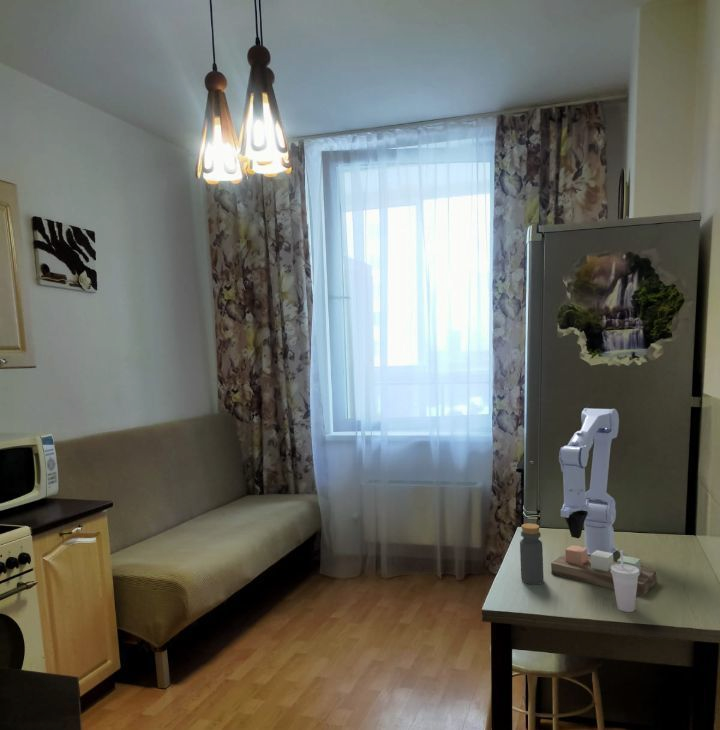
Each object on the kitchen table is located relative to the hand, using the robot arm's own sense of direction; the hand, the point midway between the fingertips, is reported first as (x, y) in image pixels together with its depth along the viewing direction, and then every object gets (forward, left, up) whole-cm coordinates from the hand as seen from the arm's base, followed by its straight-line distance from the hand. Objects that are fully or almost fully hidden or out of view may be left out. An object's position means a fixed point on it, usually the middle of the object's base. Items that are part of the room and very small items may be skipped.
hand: (576, 537), depth 160 cm
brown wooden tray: (0, +7, -10) cm, 12 cm away
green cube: (0, +14, -7) cm, 16 cm away
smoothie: (+15, +18, -10) cm, 25 cm away
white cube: (0, +7, -7) cm, 10 cm away
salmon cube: (0, 0, -7) cm, 7 cm away
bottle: (+13, -7, -10) cm, 18 cm away
